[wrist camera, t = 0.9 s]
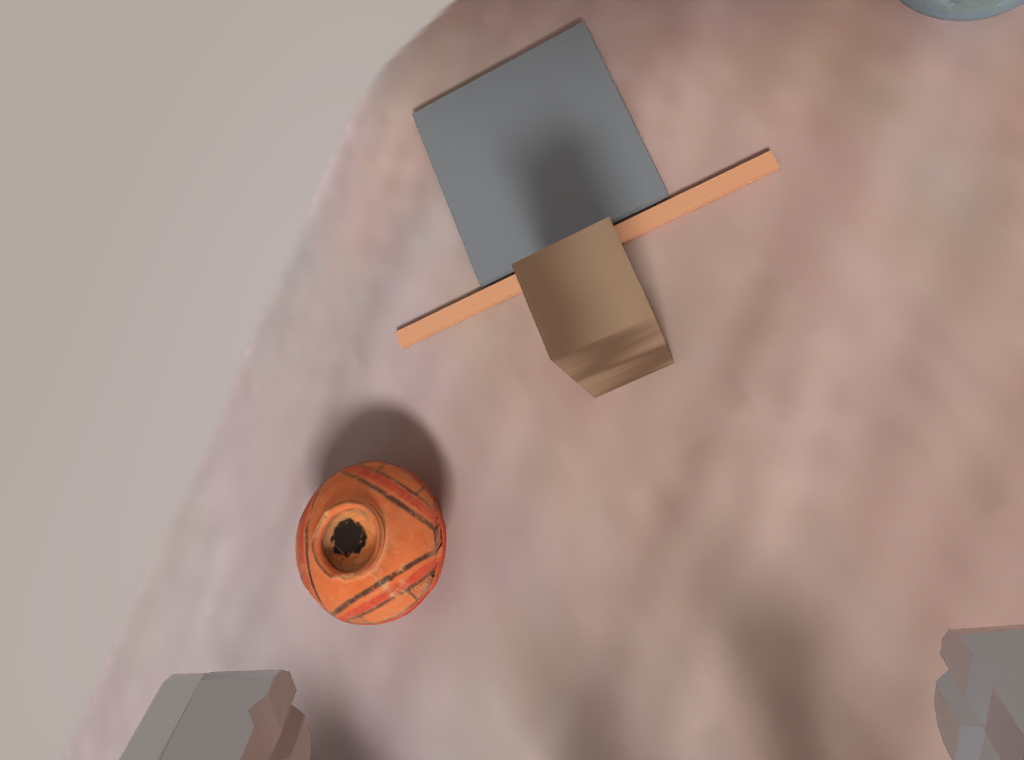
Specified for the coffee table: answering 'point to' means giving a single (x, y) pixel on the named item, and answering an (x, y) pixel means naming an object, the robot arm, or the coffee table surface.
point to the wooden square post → (592, 310)
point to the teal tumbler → (962, 8)
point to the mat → (537, 153)
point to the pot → (371, 543)
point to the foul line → (624, 231)
